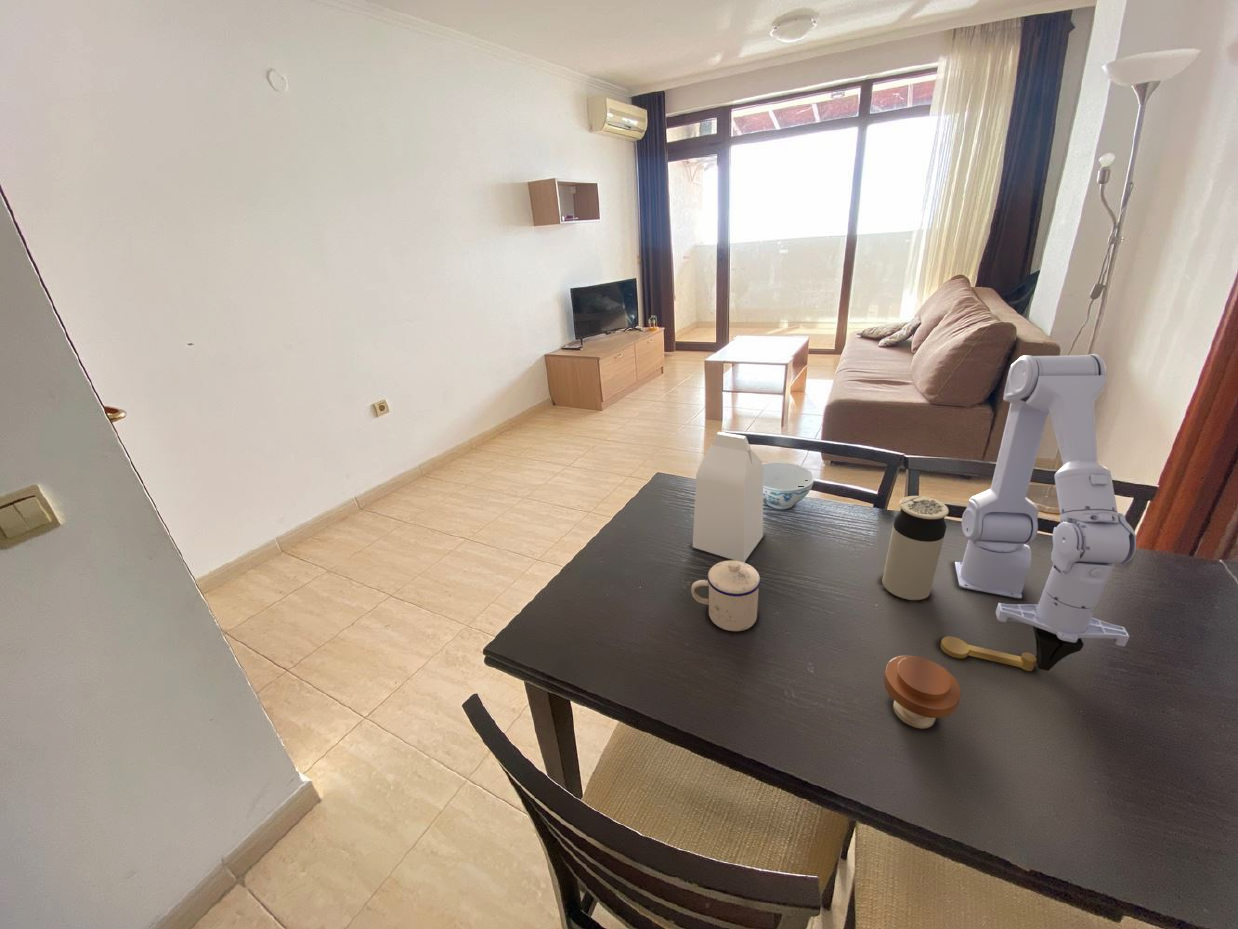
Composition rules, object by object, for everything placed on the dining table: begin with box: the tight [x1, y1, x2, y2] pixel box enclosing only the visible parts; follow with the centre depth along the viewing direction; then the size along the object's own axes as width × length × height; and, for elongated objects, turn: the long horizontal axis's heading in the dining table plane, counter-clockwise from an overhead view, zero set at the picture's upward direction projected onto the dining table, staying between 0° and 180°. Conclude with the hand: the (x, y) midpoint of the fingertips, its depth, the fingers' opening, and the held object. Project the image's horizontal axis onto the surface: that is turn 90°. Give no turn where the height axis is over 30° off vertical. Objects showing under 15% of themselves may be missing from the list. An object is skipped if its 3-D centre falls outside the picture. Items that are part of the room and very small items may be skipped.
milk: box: [692, 431, 764, 563], centre depth 107 cm, size 12×12×26 cm
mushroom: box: [883, 654, 962, 729], centre depth 70 cm, size 9×9×8 cm
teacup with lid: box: [690, 559, 761, 632], centre depth 89 cm, size 12×9×12 cm
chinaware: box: [762, 461, 815, 510], centre depth 124 cm, size 15×15×8 cm
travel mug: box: [881, 495, 950, 601], centre depth 91 cm, size 8×8×18 cm
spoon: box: [940, 635, 1037, 672], centre depth 79 cm, size 12×4×2 cm, turn 65°
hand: (1042, 665), depth 76 cm, fingers closed
